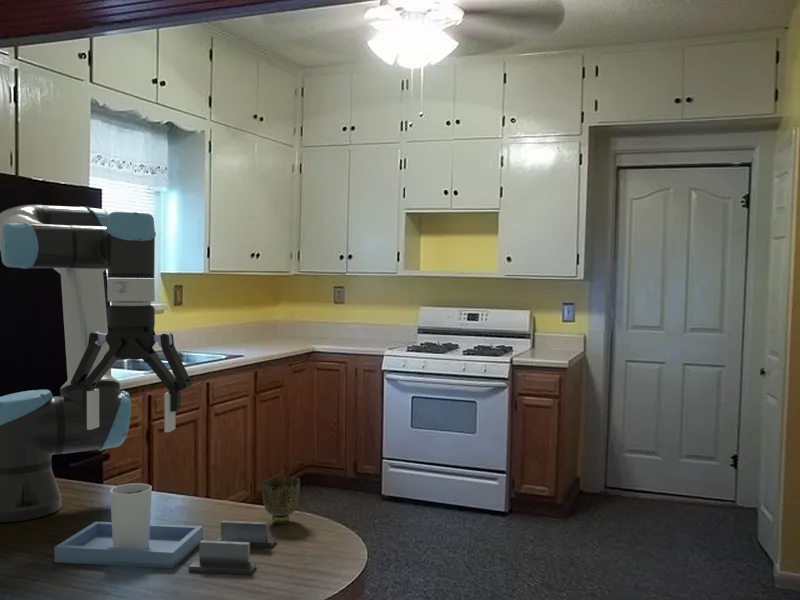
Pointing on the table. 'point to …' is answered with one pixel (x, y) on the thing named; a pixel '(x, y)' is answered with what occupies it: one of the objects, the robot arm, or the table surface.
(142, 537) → the white tumbler
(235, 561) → the bracket
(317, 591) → the table surface
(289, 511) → the cup
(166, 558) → the tray
